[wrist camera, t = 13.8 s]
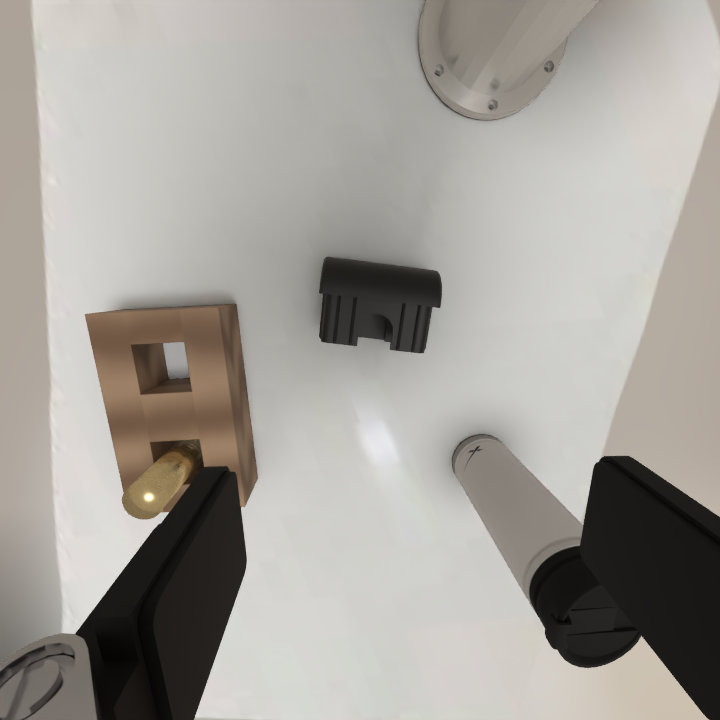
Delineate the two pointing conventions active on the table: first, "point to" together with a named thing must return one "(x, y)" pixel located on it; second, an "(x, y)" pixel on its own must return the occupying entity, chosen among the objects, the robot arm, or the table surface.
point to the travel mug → (543, 554)
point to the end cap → (377, 303)
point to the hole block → (175, 389)
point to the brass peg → (162, 480)
